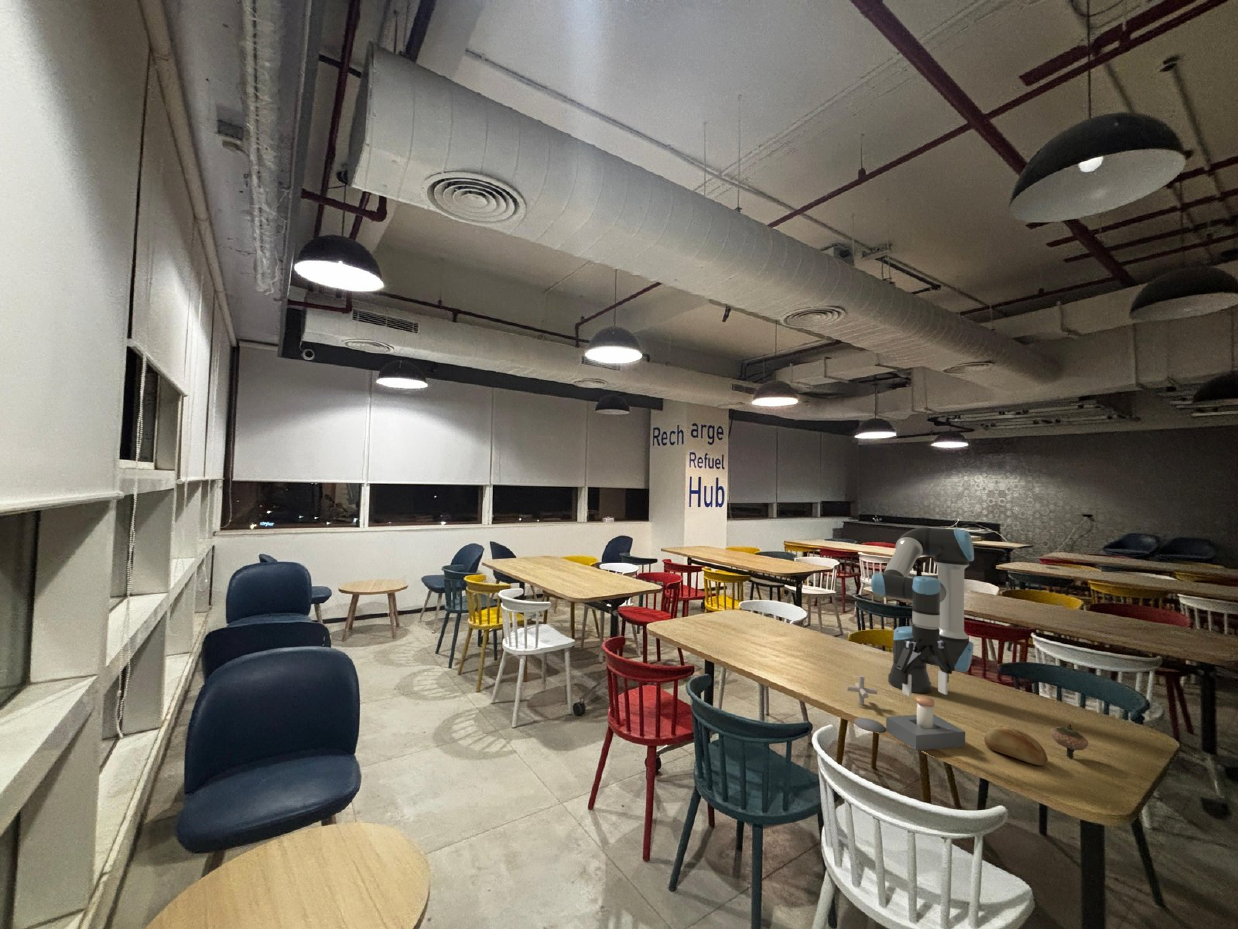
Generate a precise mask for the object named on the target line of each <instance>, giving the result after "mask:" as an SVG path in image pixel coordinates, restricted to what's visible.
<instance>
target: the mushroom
mask: <svg viewBox="0 0 1238 929" xmlns="http://www.w3.org/2000/svg"><path fill="white" fill-rule="evenodd" d="M915 702H916V715H917V725H918V726H920V727H921V728H923V729H933V714H934V707H935V700H934V699H932V698H931V697H928V696H923V695H916V696H915Z"/></svg>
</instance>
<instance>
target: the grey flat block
mask: <svg viewBox="0 0 1238 929" xmlns="http://www.w3.org/2000/svg"><path fill="white" fill-rule="evenodd" d="M885 720H886V721H885V722H886V723H885V732H887V733H889V734H890V735H892V736H893V737H894V738H897V739H898V740H899V741H901V743H902V742H903V743H904V744H905V743H906V744H905V745H907V744H908V745H910V746H909V747H910V748H911V749H913V750H914V751H918V752H919V751H926V750H927V751H928V750H929V751H930V750H937V749H951V748H962V747H963V746H964V747H966V731H965V730H964V729H962V728H959V727H958V726H956V725H954V724H953V723H951V722H948V721H947V720H945V719H943V718H941V717H940V716H937V715H936V714H934V713H933V729H923V728H921V727H920V726H918V725H917V714H910V715H909V714H908V715H907V714H906V715H892V716H890V715H889V716H885ZM908 745H907V746H908ZM914 747H915V748H914ZM950 747H951V748H950Z"/></svg>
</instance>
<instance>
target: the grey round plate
mask: <svg viewBox="0 0 1238 929" xmlns="http://www.w3.org/2000/svg"><path fill="white" fill-rule="evenodd" d="M853 722H854V724H855V725H856V726H857V728H860V729H862V730H864V731H867V732H870V733H882V732H884V731H886V726H884V724H883V723H881V722H880V721H877V720H875V719H872V718H868V717H857V718H854V721H853ZM866 727H869V728H866Z"/></svg>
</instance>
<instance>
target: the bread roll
mask: <svg viewBox="0 0 1238 929" xmlns="http://www.w3.org/2000/svg"><path fill="white" fill-rule="evenodd" d="M983 740H984V744H985V746H986V747H987V748H988V749H990V750H992V751H995V752H997V753H1000V754H1003V755H1006V756H1009V757H1011V758H1014V759H1017V760H1020V761H1023V762H1025V763H1029V764H1032V765H1036V766H1045V765H1047V763H1048V756H1047V753H1046V751H1045V749H1044V748H1043V746H1042V744H1040V742H1039V741H1038V740H1036V739H1035V738H1034V737H1032V736H1031V735H1030V734H1028V733H1027V732H1024V730H1020V729H1017V728H1015V727H1011V726H1004V725H1003V726H995V727H994V726H993V727H991V728H990V729H988V731H987V732H986V733H985V735H984V738H983Z"/></svg>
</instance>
